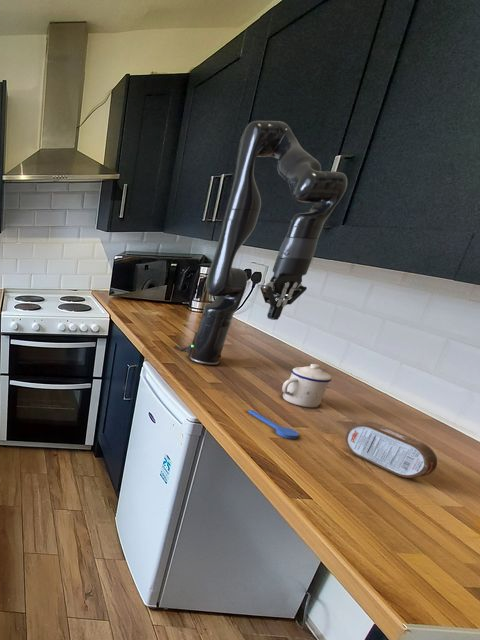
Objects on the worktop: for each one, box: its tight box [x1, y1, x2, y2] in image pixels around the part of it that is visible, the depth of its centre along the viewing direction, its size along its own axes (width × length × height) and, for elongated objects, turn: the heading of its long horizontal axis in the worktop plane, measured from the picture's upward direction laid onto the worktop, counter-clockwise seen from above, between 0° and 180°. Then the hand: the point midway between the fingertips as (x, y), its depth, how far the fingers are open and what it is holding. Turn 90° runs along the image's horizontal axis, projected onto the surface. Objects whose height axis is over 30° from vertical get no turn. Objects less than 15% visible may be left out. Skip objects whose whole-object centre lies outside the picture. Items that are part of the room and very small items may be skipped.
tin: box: [345, 421, 438, 479], centre depth 87 cm, size 15×3×8 cm, turn 17°
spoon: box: [247, 409, 299, 440], centre depth 104 cm, size 14×4×1 cm, turn 9°
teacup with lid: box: [281, 363, 332, 408], centre depth 116 cm, size 12×9×12 cm
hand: (272, 319), depth 114 cm, fingers closed
